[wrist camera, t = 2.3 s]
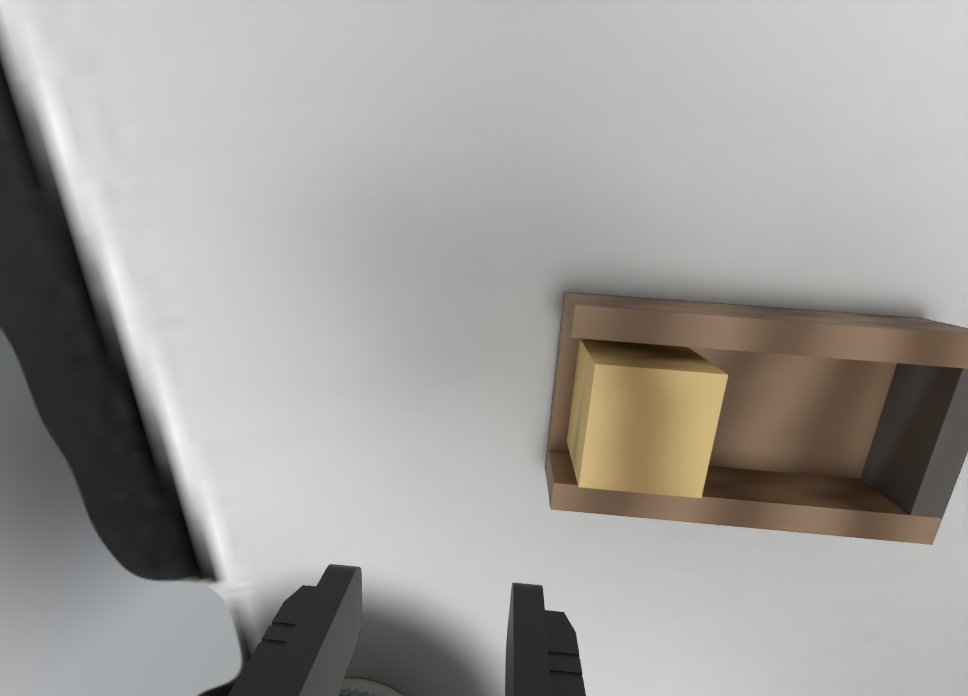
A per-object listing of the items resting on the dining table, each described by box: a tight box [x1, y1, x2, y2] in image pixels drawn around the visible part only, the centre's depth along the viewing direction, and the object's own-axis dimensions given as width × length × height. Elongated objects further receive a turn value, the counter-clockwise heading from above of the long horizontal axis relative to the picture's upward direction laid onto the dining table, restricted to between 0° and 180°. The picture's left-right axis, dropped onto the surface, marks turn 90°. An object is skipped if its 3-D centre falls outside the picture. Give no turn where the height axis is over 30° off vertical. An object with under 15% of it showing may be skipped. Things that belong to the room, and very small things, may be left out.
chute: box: [545, 292, 968, 545], centre depth 25 cm, size 20×11×4 cm, turn 86°
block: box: [567, 338, 728, 498], centre depth 24 cm, size 6×6×5 cm
